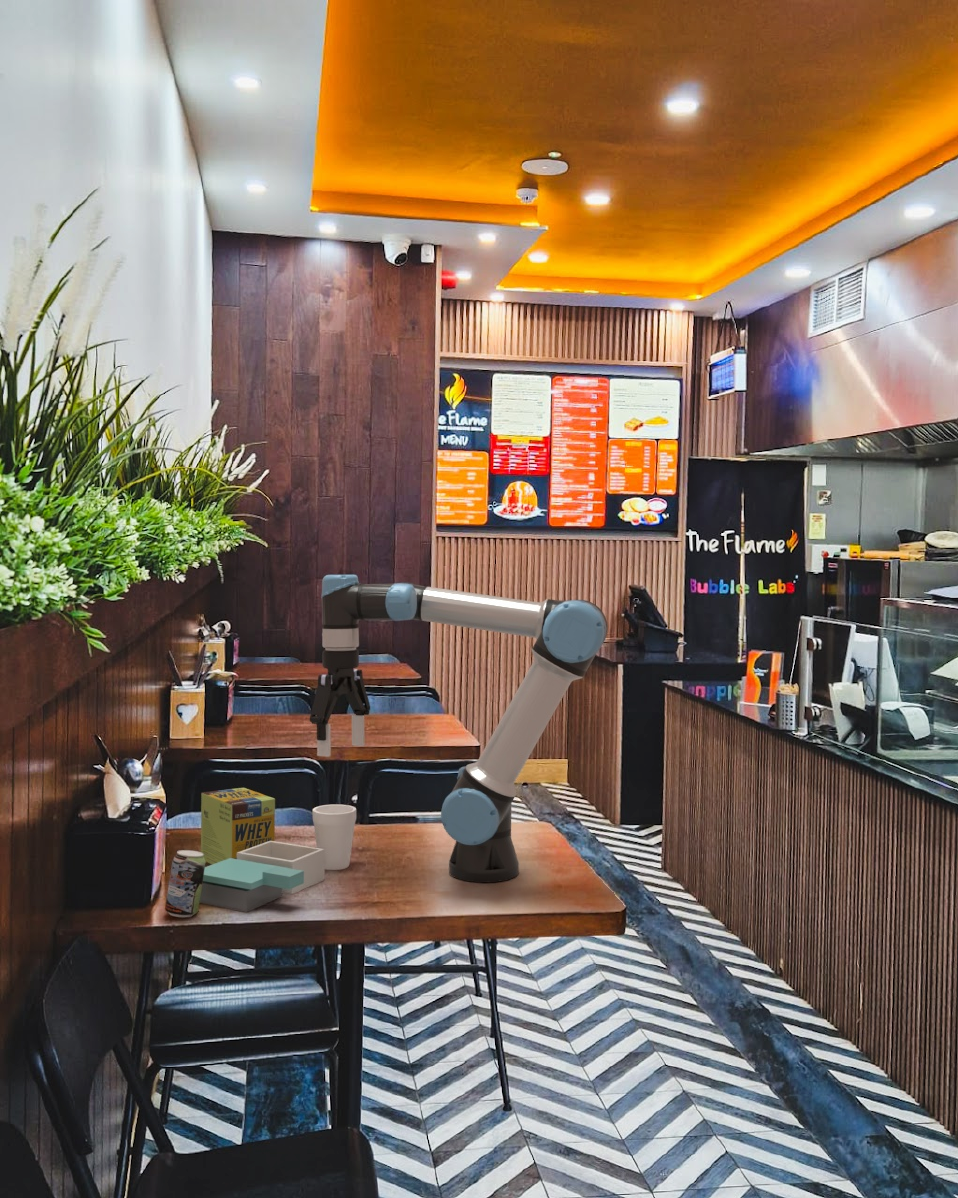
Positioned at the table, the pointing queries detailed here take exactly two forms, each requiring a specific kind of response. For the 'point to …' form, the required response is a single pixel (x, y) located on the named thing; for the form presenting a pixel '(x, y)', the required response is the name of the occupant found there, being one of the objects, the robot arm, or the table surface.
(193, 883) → the beverage can
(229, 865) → the lid
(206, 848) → the protein box
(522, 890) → the table surface
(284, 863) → the tub
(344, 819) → the foam cup
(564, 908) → the table surface
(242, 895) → the block
